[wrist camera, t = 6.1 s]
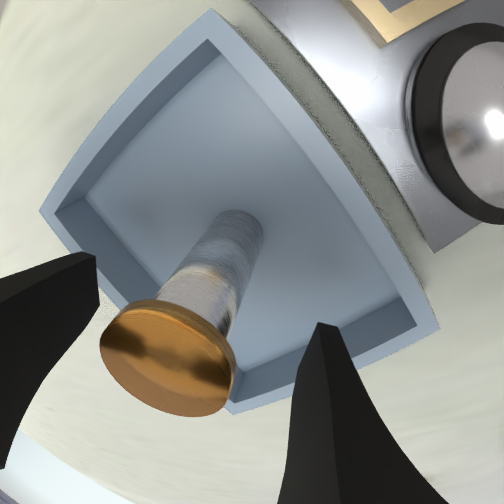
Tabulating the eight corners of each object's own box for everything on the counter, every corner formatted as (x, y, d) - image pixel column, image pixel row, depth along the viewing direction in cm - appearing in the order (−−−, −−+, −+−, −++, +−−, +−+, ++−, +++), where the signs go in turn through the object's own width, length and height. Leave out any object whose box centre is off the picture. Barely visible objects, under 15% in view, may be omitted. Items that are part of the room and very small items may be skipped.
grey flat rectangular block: (568, 145, 9) (606, 160, 6) (429, 246, 13) (450, 281, 10) (402, -103, 6) (415, -135, 3) (230, -16, 10) (207, -43, 7)
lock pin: (288, 218, 13) (250, 364, 6) (258, 281, 15) (208, 430, 8) (212, 185, 13) (101, 295, 6) (191, 251, 15) (99, 379, 8)
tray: (423, 290, 14) (440, 328, 11) (244, 377, 19) (233, 414, 16) (234, 26, 11) (211, 7, 8) (75, 191, 15) (38, 211, 13)
